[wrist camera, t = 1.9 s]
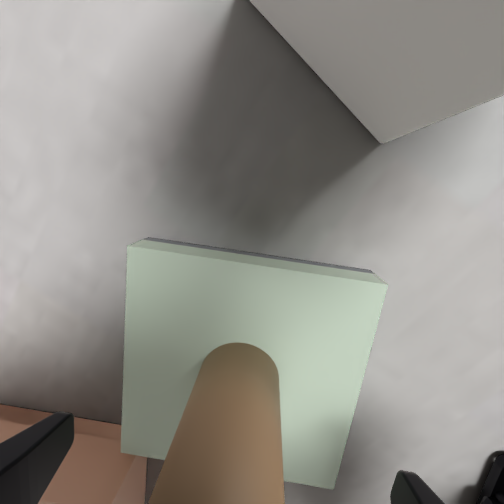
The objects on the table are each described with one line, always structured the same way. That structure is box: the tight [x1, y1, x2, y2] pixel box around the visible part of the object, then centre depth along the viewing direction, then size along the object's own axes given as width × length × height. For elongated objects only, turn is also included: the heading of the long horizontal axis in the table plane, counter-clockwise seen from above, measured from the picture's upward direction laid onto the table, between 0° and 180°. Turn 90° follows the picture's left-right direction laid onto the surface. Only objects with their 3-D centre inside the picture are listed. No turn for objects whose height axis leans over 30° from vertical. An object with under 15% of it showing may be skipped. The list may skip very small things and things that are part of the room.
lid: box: [121, 240, 388, 504], centre depth 9 cm, size 9×9×6 cm
